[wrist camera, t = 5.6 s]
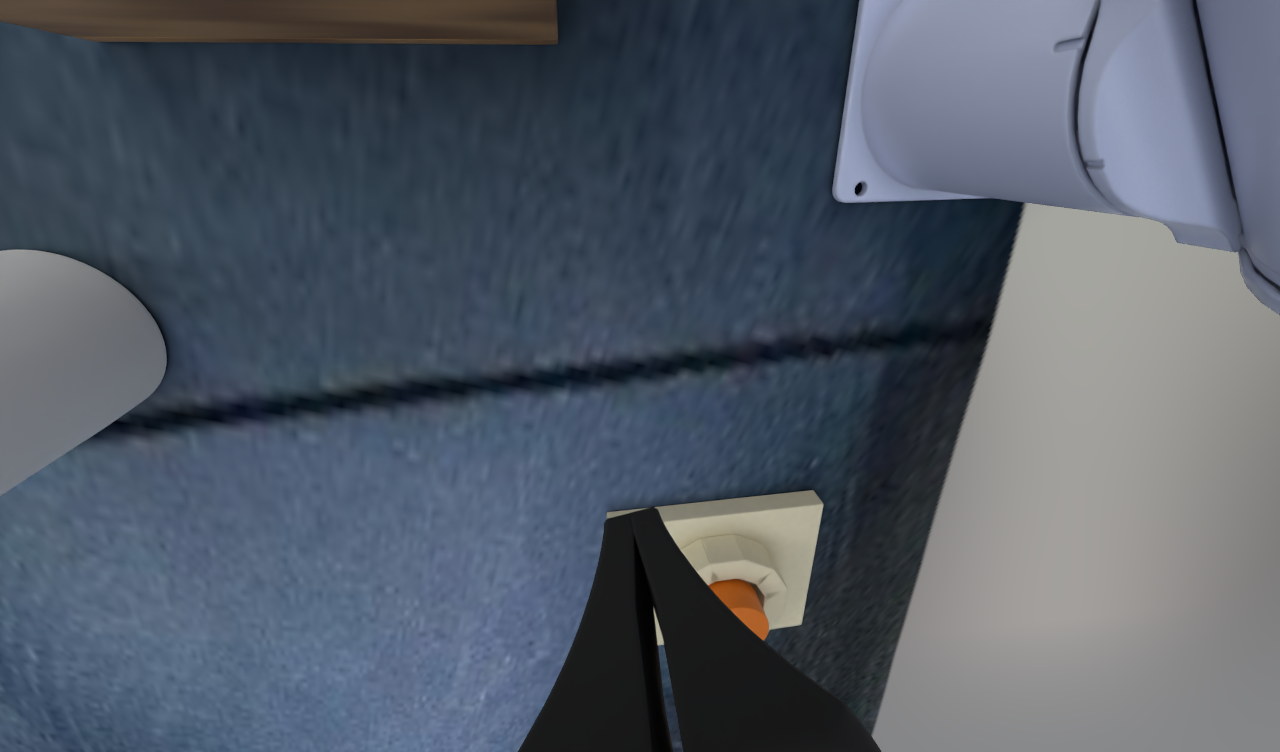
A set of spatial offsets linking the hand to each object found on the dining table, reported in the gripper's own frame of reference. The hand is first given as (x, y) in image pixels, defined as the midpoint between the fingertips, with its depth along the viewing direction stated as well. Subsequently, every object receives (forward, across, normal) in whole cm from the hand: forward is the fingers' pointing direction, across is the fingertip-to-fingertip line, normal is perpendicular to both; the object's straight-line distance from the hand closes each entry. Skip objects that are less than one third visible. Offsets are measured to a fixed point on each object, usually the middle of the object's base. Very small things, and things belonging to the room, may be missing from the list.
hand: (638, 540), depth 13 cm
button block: (+10, -3, +13) cm, 16 cm away
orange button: (+7, -3, +13) cm, 15 cm away
